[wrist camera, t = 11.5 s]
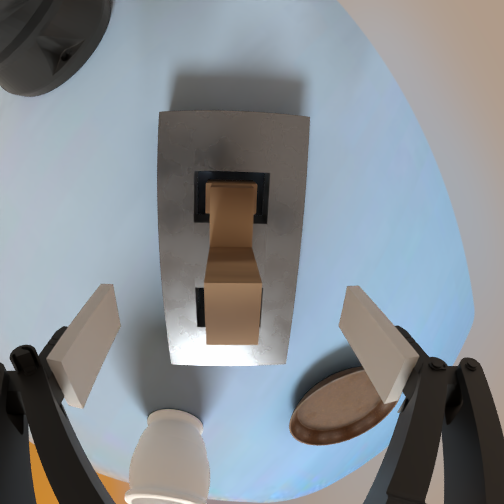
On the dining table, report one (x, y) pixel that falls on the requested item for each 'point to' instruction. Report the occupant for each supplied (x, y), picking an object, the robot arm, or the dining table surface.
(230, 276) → the brown wooden branched block
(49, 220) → the dining table surface
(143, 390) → the dining table surface
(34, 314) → the dining table surface
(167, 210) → the grey slotted base block
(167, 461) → the jar
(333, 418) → the plant saucer
